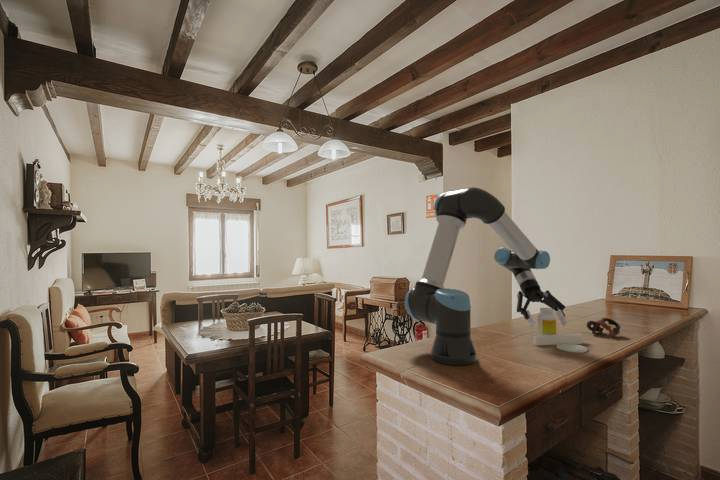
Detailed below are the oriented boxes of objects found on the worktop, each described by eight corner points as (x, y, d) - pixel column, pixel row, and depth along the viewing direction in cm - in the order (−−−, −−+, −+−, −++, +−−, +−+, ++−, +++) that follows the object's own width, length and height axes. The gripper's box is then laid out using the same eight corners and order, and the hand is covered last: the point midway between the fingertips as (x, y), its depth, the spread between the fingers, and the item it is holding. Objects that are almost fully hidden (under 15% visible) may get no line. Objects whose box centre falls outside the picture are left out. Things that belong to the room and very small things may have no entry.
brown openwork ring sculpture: (607, 333, 158) (616, 318, 154) (616, 348, 149) (627, 333, 146) (579, 325, 159) (588, 311, 155) (587, 340, 150) (597, 325, 147)
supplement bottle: (560, 341, 143) (559, 309, 143) (546, 343, 141) (545, 310, 141) (548, 337, 149) (547, 306, 149) (534, 339, 148) (533, 307, 148)
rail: (535, 345, 138) (535, 336, 138) (533, 344, 140) (533, 335, 140) (582, 343, 140) (582, 334, 140) (579, 342, 141) (579, 333, 141)
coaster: (567, 353, 128) (567, 351, 128) (550, 345, 138) (550, 343, 138) (594, 352, 129) (594, 350, 129) (575, 344, 139) (575, 342, 139)
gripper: (551, 288, 163) (574, 329, 148) (498, 289, 161) (516, 331, 146) (558, 277, 158) (583, 318, 143) (503, 278, 156) (522, 320, 141)
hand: (549, 325), depth 144 cm, fingers open, 13 cm apart
